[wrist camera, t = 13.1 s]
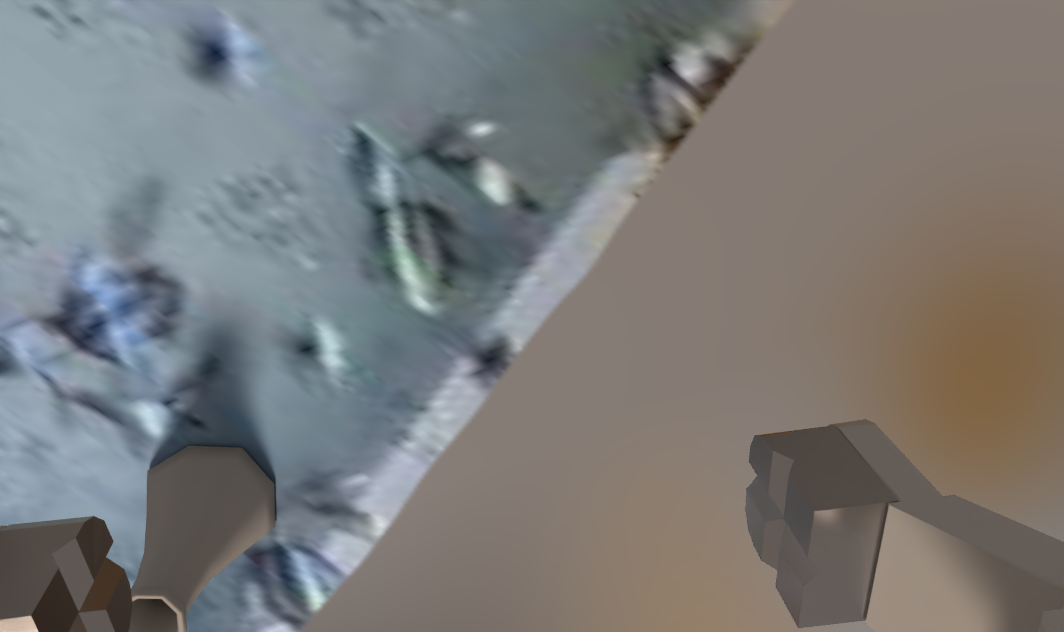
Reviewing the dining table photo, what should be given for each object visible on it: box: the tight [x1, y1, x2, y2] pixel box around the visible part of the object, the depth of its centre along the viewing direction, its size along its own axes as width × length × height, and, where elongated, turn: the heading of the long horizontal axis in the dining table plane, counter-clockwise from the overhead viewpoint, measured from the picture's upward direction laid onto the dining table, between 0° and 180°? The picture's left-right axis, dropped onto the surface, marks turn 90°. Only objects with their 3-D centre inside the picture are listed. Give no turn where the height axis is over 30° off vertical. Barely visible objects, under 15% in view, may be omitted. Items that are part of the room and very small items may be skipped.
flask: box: [128, 446, 275, 632], centre depth 40 cm, size 7×7×10 cm
